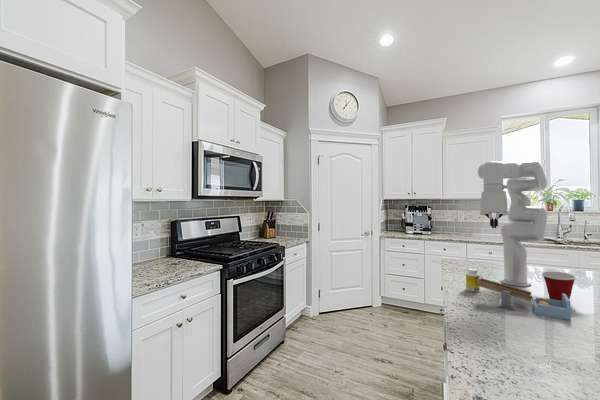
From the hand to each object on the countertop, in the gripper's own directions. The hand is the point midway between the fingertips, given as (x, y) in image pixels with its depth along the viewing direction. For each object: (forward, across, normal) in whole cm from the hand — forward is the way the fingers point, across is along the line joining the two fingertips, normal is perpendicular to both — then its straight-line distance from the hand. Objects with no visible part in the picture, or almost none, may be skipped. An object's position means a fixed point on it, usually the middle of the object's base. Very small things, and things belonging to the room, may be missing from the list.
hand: (494, 227), depth 127 cm
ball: (+29, -16, +13) cm, 35 cm away
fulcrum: (+31, -4, +13) cm, 34 cm away
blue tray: (+31, -18, +13) cm, 38 cm away
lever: (+25, -3, +10) cm, 28 cm away
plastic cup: (+31, -22, -4) cm, 38 cm away
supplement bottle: (+31, +9, -2) cm, 33 cm away
